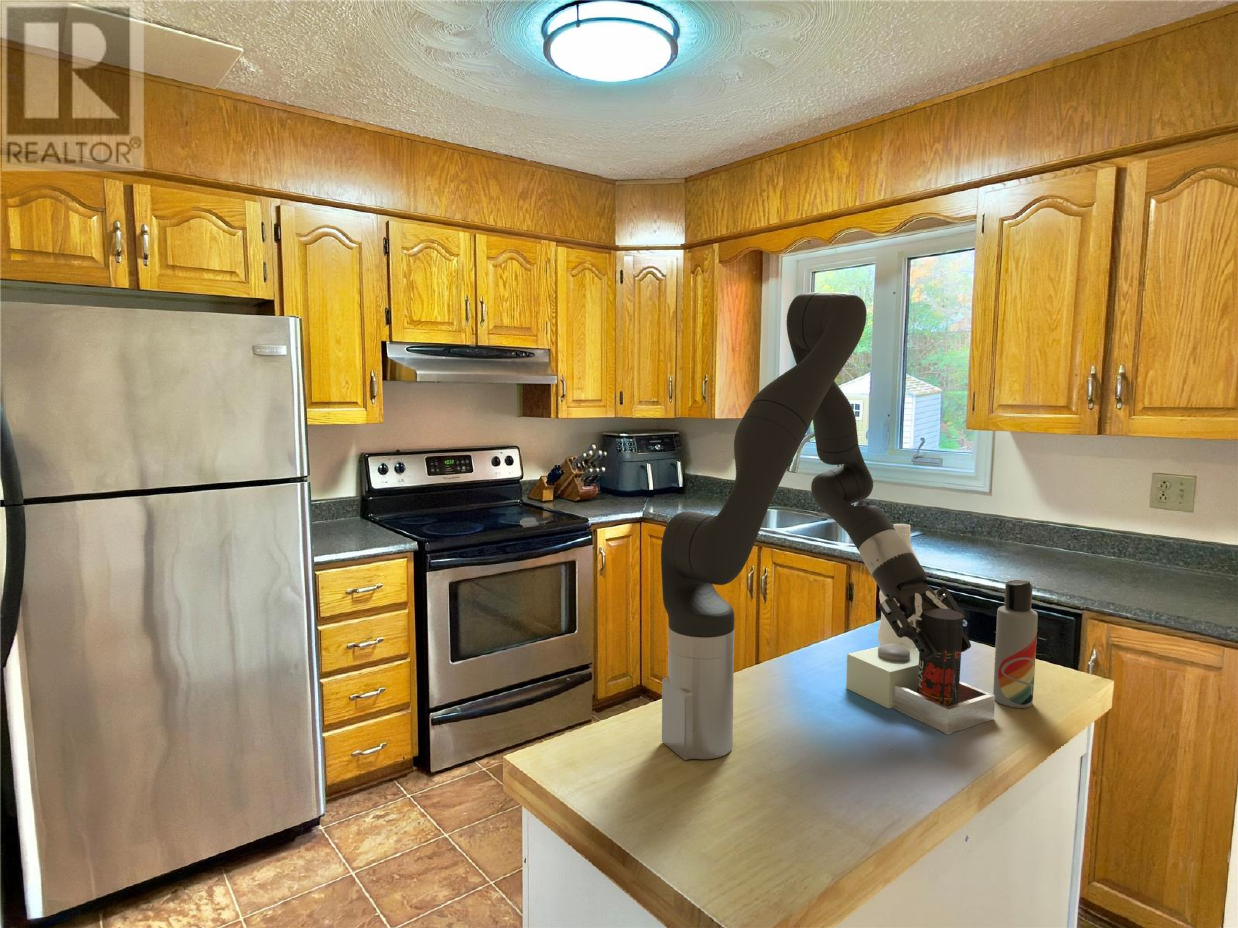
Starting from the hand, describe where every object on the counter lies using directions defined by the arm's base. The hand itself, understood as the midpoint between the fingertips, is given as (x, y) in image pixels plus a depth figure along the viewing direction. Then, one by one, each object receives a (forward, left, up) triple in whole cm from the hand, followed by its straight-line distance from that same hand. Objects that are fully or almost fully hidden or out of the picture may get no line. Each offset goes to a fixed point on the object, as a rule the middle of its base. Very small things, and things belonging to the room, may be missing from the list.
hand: (949, 653), depth 110 cm
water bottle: (+15, +23, -10) cm, 29 cm away
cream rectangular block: (0, +11, -10) cm, 15 cm away
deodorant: (0, +2, -9) cm, 9 cm away
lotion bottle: (+14, -1, -10) cm, 17 cm away
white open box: (0, +2, -10) cm, 10 cm away
